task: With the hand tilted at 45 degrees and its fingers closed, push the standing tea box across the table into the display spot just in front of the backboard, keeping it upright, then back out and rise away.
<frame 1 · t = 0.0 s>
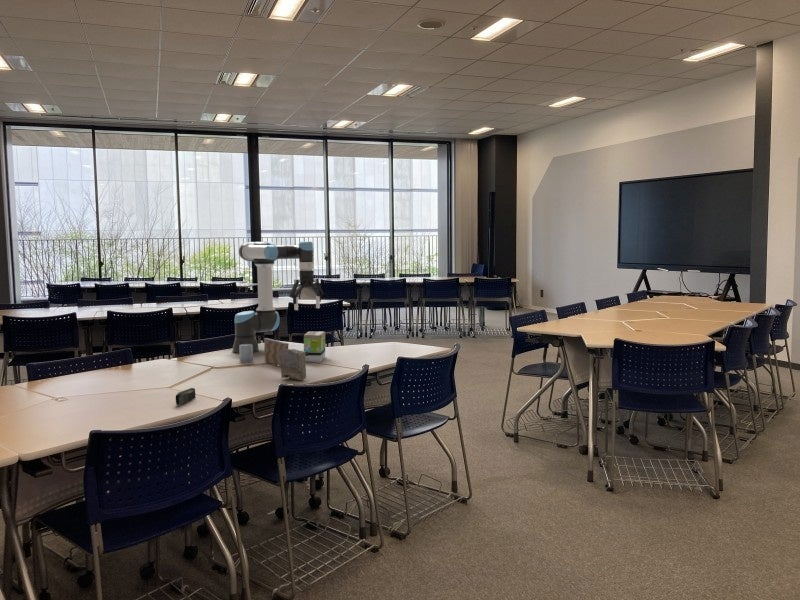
hand: (307, 309, 340), 28 cm above the table, tool pointing down, fingers open, 13 cm apart
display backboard: (276, 364, 329), on the table
grey capsule cylinder: (246, 361, 340), on the table
tea box: (314, 359, 344), on the table
dark grey elongated bar: (185, 403, 253), on the table
geological specimen: (293, 380, 293), on the table
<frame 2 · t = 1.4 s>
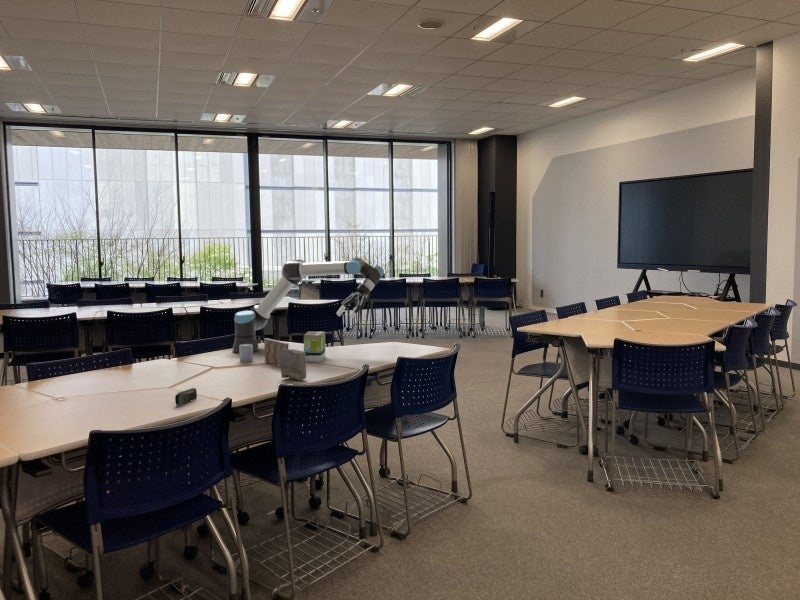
hand: (344, 316, 354), 22 cm above the table, tool tilted 45°, fingers open, 13 cm apart
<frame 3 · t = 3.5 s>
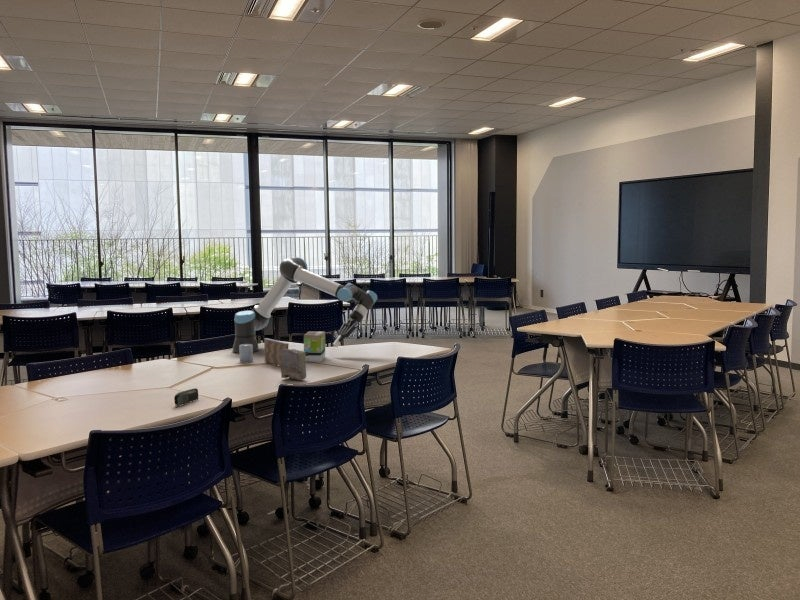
hand: (334, 345, 352), 6 cm above the table, tool tilted 45°, fingers closed
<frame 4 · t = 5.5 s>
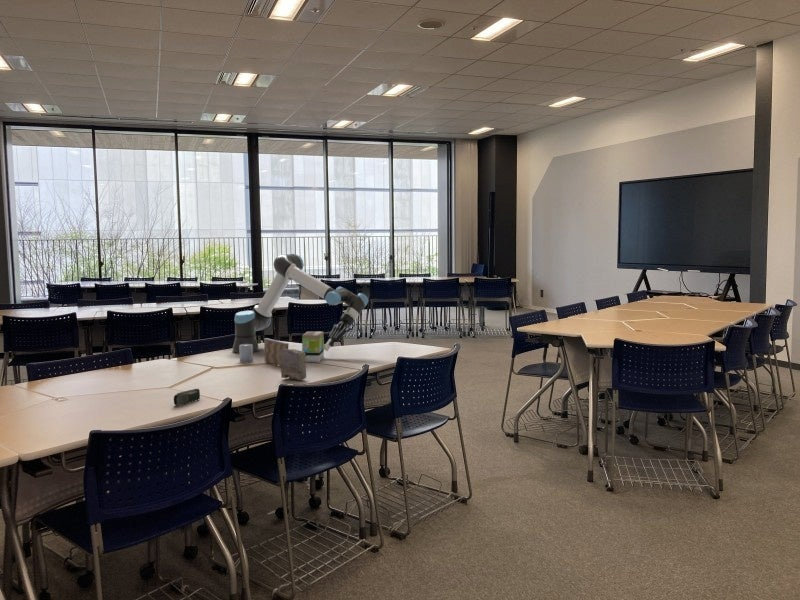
hand: (325, 349, 347), 5 cm above the table, tool tilted 45°, fingers closed
tea box: (313, 359, 344), on the table, touching gripper
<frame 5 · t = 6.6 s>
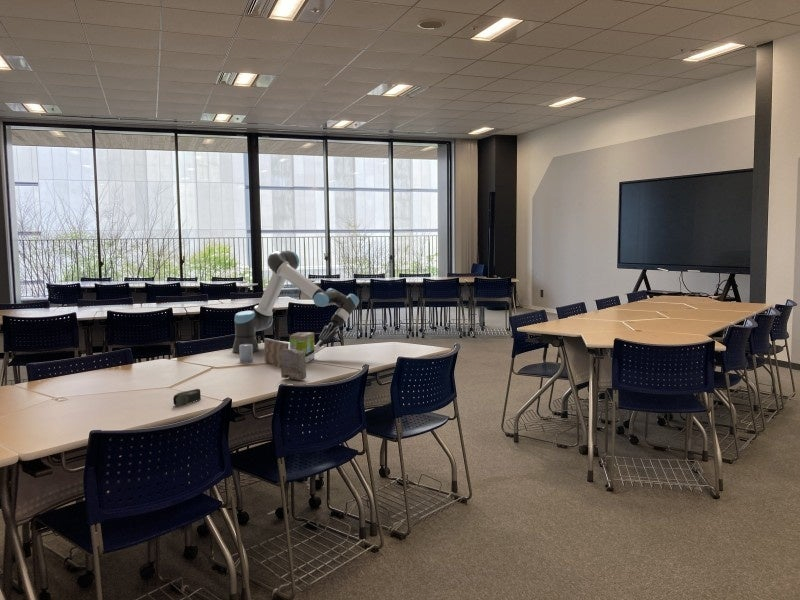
hand: (315, 350, 343), 5 cm above the table, tool tilted 45°, fingers closed
tea box: (302, 360, 341), on the table, touching gripper
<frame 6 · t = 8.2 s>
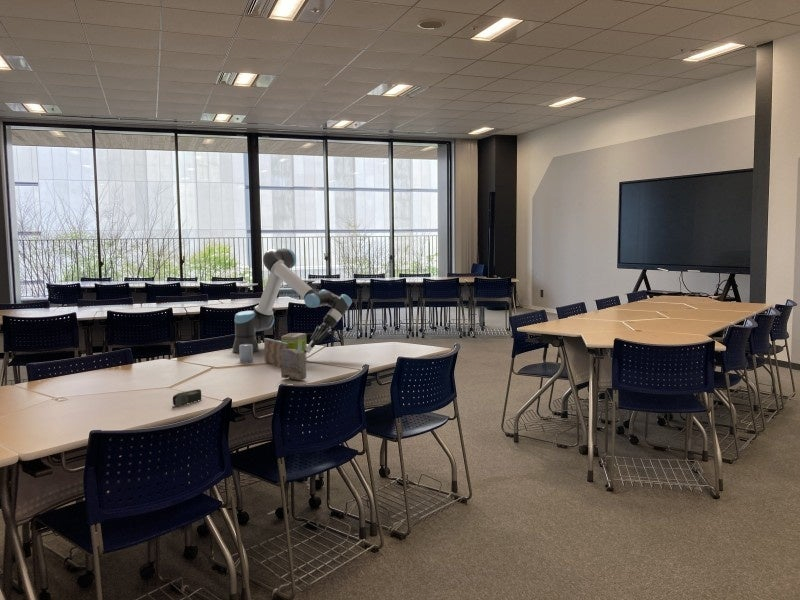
hand: (306, 351, 341), 5 cm above the table, tool tilted 45°, fingers closed
tea box: (294, 361, 339), on the table, touching gripper
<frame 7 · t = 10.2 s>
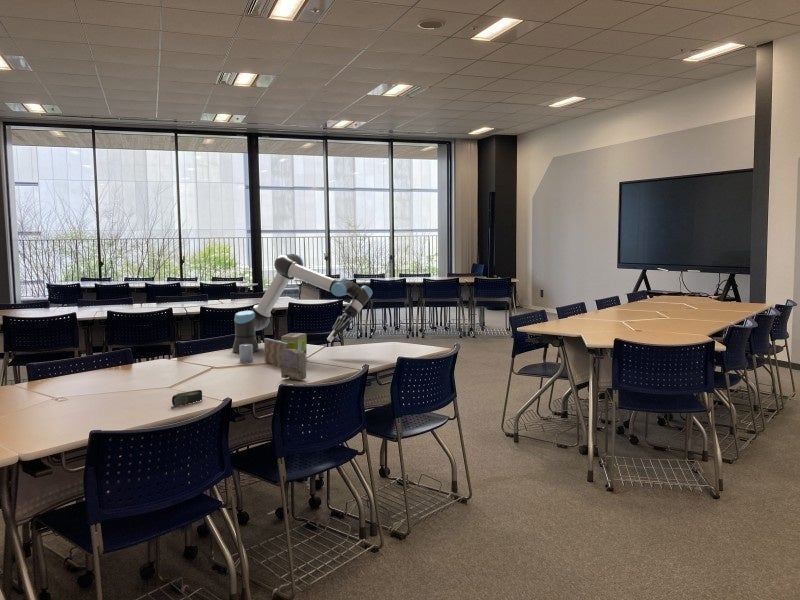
hand: (328, 340, 350), 9 cm above the table, tool tilted 45°, fingers closed
tea box: (294, 361, 339), on the table
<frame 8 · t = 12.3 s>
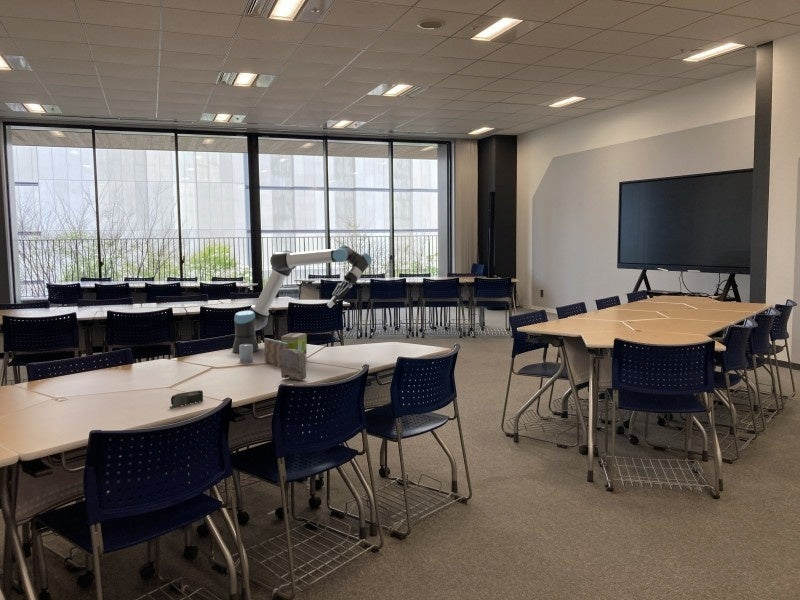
hand: (328, 306, 354), 28 cm above the table, tool tilted 45°, fingers closed
at the end: tea box inside the target area on the table beside the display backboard (3.1 cm from its centre), on the table; tea box tilted 0°; the gripper is holding nothing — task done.
